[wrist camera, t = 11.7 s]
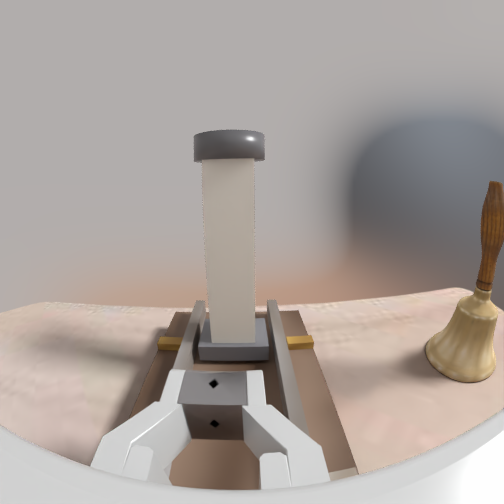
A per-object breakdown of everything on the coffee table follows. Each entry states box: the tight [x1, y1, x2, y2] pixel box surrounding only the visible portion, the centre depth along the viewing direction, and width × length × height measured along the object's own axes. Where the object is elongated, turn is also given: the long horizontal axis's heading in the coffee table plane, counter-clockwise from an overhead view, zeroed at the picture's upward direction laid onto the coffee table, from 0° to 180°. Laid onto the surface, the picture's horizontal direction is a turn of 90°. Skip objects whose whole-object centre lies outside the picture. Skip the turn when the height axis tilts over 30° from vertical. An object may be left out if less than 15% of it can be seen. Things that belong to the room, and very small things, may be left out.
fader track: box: [129, 300, 359, 490], centre depth 14 cm, size 12×24×4 cm, turn 2°
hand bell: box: [426, 181, 504, 382], centre depth 16 cm, size 8×8×16 cm
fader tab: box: [194, 130, 269, 361], centre depth 18 cm, size 5×4×15 cm
